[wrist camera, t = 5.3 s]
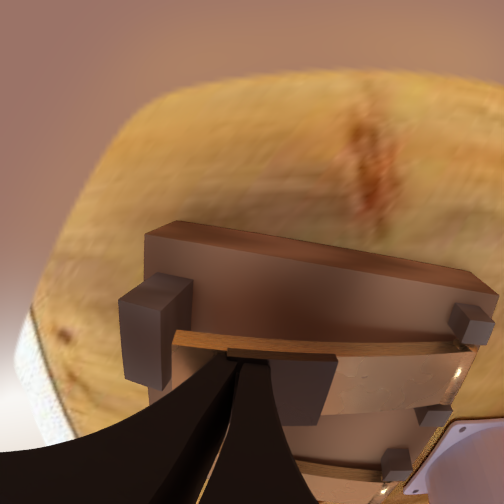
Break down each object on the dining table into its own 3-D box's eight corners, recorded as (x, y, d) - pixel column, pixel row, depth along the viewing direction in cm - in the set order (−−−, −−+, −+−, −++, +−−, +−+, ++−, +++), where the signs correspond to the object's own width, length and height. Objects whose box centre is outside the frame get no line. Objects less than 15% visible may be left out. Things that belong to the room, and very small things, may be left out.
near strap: (468, 336, 10) (487, 353, 9) (444, 389, 11) (458, 408, 9) (177, 324, 9) (169, 349, 8) (176, 389, 10) (170, 417, 9)
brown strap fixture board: (470, 271, 12) (535, 327, 7) (379, 467, 16) (385, 536, 11) (176, 220, 14) (101, 253, 9) (173, 431, 18) (138, 494, 13)
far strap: (400, 468, 12) (401, 488, 11) (380, 494, 13) (381, 512, 11) (198, 430, 14) (187, 448, 13) (197, 458, 15) (188, 475, 14)
